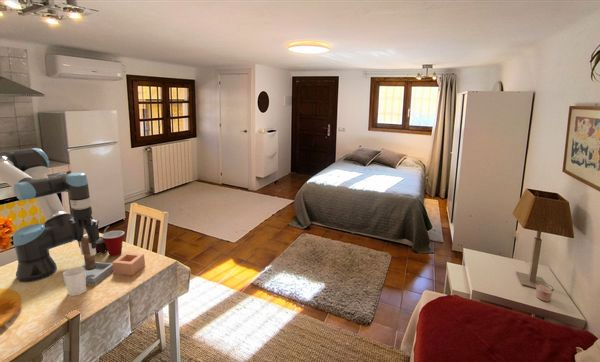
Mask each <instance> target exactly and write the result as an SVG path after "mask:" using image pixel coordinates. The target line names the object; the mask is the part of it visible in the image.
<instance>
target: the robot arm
mask: <svg viewBox="0 0 600 362" xmlns="http://www.w3.org/2000/svg"><path fill="white" fill-rule="evenodd" d="M49 167H50V160H49V157H48V155H47V154H46V153H45V152H44V150H42V149H41V148H38V147H33V148H31V147H29V148H23V149H12V150H2V151H0V180H1V181H3V182H4V183H6V184H8V185H9V186H11V187H12V188H13V192H14V195H15V197H16V199H18V200H19V201H26V200H33V199H35V200H36V202H37V204H38V206H39V208H40V210H41V213H42V214H43V216H44V219H45V220H44V221H43V224H42V223H33V224H29V225H26V226H23V227H20V228H19V229H17V230H16V231H15V232H14V233H13V235H12V242H13V243H12V244H13V245H14V249H15V254H16V258H17V268H16V272H15V278H16V280H17V281H18V282H21V283H31V282H35V281H40V280H43V279H46V278H48V277H49V276H50V277H51V276H52V275H53V274H55V272H57V270H58V267H57V263H56V262H55V260H54V259H53V258H52V256H51V254H50V250H51V249H55V248H57V247H60V246H63V245H66V244H69V243H73V242H75V241H77V244H78V247H79V249H80V254H81V256H84V254H83V248H82V242H81V238H82V237H84V236H85V235H84V231H86V236H88V237H89V240H90V242H89V249H90V255H91V256H92V255H94V256H95V255H96V241H97V240H99V239H100V238H99V237H100V230H99V224H100V223H99V222H100V221H99V220H98V219H97V220H95V219H94V218H93V215H92V214H93V209H92V206H91V205H92V201H91V196H90V189H89V180H88V178H87V174H86V173H85V172H71V173H58V174H56V175H55V176H50V177H49V176H48V174H47V173H48V172H49ZM65 192H66V193H68V197H69V198H68V199H69V203H70V208H71V213H70V212H66V209H65V208H64V206H63V204H62V202H61V200H60V198H59V196H58V194H61V193H65Z"/></svg>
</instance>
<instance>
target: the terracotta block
mask: <svg viewBox="0 0 600 362" xmlns="http://www.w3.org/2000/svg"><path fill="white" fill-rule="evenodd" d="M111 263H112V264H113V271H112V272H113V274H116V275H124V276H125V275H127V276H128V275H130V276H134V275H135V274H136V273H138V272H139V271H140V270H141V269H142V268H143V267H144V266H146V261H145V254H144V253H135V252H124V253H123V254H120V255H119V257H118V258H116V259H115V260H113V261H112V262H111Z"/></svg>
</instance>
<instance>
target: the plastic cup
mask: <svg viewBox="0 0 600 362" xmlns="http://www.w3.org/2000/svg"><path fill="white" fill-rule="evenodd" d="M124 234H125V231H123V230H110V231H108V232H107V231H106V232H105V233H104V232H103V233H102V234H101V236H100V237H102V238H103V240H104V242H105V245H106V248H107V252H108V255H109V256H110V257H118V256H121V255H122V252H123V240H124V236H125V235H124Z"/></svg>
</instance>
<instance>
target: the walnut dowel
mask: <svg viewBox="0 0 600 362" xmlns="http://www.w3.org/2000/svg"><path fill="white" fill-rule="evenodd" d="M81 242H82V248H83V254H84V255H83V259H84V264H85V266H86V270H88V271H89V270H93V269H95V268H96V264H95V262H96V259H95V254H94V255H92V256H91V255H90V249H89V242H90V240H89V237H88V235H83V237H82V238H81Z"/></svg>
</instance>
